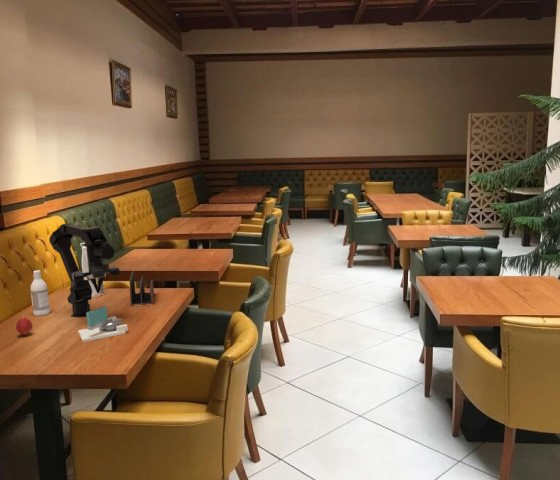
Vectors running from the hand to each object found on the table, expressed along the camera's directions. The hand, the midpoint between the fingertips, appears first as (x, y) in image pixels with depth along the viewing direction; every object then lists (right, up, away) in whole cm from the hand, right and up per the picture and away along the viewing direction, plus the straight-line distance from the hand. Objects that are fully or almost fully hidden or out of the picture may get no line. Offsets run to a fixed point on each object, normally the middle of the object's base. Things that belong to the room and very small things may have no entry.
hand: (98, 292), depth 220 cm
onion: (-24, -16, -14) cm, 32 cm away
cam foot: (+8, -13, -16) cm, 22 cm away
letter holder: (+11, -7, +30) cm, 33 cm away
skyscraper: (-17, -6, +42) cm, 46 cm away
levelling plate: (+7, -14, -15) cm, 22 cm away
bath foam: (-31, -11, +14) cm, 36 cm away
